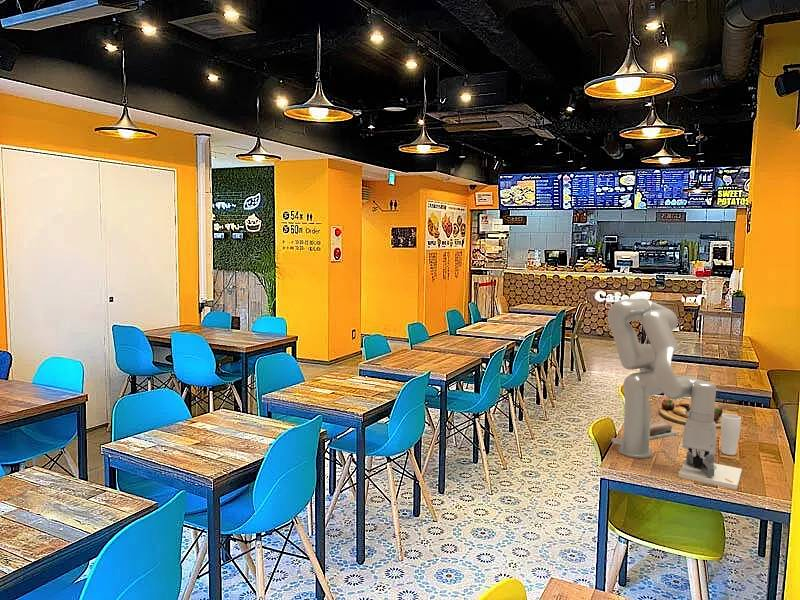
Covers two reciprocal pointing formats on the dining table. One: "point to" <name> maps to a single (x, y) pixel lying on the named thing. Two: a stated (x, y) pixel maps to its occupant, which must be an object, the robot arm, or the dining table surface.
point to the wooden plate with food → (678, 412)
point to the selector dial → (707, 463)
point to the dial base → (722, 475)
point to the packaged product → (660, 430)
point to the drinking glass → (730, 433)
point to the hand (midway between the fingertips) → (697, 467)
